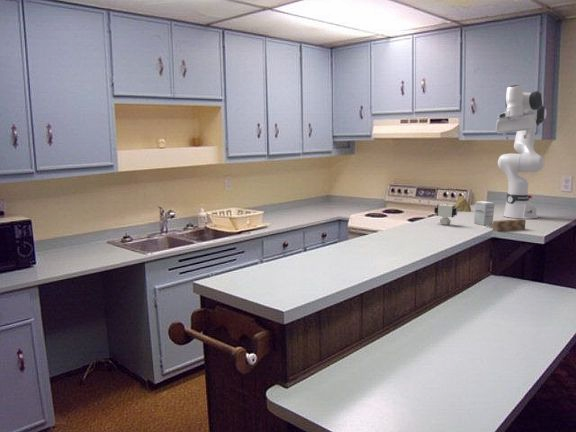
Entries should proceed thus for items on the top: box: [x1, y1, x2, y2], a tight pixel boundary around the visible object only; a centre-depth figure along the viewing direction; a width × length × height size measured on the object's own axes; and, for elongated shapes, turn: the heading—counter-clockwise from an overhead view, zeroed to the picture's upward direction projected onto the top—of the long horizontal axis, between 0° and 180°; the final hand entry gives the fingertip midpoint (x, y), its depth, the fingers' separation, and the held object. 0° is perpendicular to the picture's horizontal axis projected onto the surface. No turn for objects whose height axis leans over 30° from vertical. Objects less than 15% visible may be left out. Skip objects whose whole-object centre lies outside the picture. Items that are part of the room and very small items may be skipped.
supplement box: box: [473, 200, 495, 226], centre depth 289 cm, size 7×7×13 cm
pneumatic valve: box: [434, 202, 459, 226], centre depth 286 cm, size 6×12×12 cm, turn 59°
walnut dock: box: [485, 218, 527, 232], centre depth 277 cm, size 20×12×5 cm, turn 114°
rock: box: [454, 195, 472, 212], centre depth 339 cm, size 11×9×10 cm
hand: (516, 139), depth 279 cm, fingers open, 8 cm apart
